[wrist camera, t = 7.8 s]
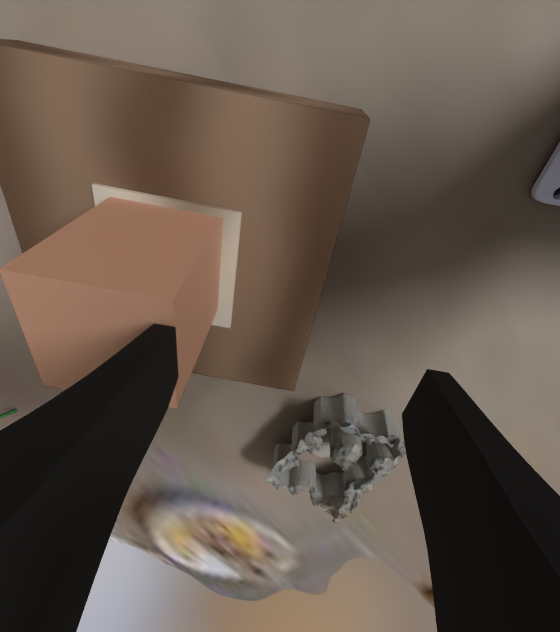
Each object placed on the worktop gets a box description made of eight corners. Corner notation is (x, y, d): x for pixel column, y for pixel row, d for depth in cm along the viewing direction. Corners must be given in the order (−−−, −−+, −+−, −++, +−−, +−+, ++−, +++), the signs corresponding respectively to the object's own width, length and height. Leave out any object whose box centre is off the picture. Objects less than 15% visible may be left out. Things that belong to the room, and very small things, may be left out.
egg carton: (333, 478, 31) (334, 526, 28) (260, 449, 30) (252, 497, 26) (415, 419, 25) (429, 472, 22) (330, 378, 24) (332, 429, 20)
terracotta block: (223, 217, 14) (172, 300, 9) (217, 308, 17) (176, 409, 12) (110, 196, 14) (-2, 269, 9) (123, 291, 17) (43, 385, 12)
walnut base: (361, 109, 14) (371, 120, 11) (296, 355, 22) (293, 394, 20) (16, 40, 14) (-53, 35, 11) (82, 316, 22) (50, 349, 20)
